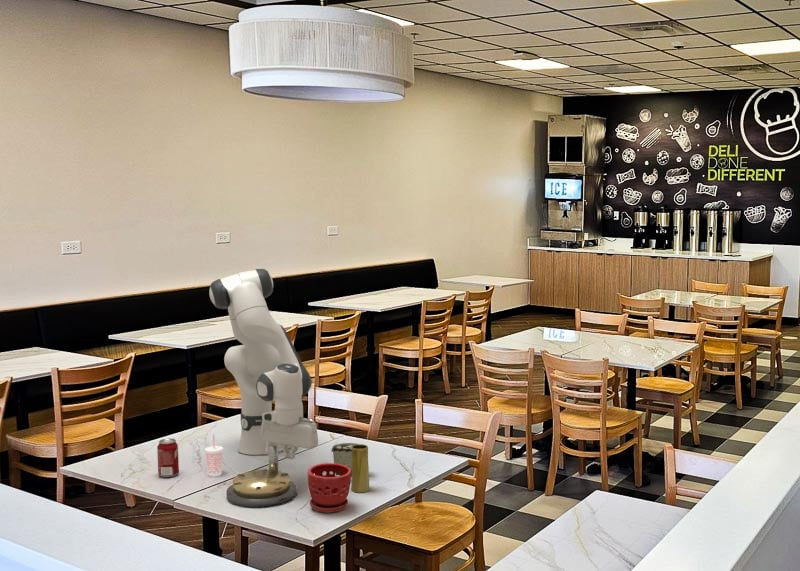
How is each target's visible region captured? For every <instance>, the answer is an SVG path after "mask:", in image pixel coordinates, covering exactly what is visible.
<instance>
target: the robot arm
mask: <svg viewBox="0 0 800 571" xmlns="http://www.w3.org/2000/svg"><path fill="white" fill-rule="evenodd" d="M273 292H274V281H273V277H272V276H271V274H270V272H269V271H268V270H267V269H265V268H255V270H253V269H252V270H246V271H241V272H237V273H236V274H235V273H234V274H232V275H228V276H226V277H223V278H221V279H220V278H217V279H215V280H214V281H212V282H211V283H210V285H209V298H210V301H211V303H212V304H213V305H214V307H215V308H217V309H219V310H227V312H228V315H229V316H228V317H229V320H230V325H231V330H232V333H233V336H234V338H235V339H236V340H237V341H239V343H241V344H240V345H239V344H238V345H235V346H231V347H229V348H228V349H227V351H226V352H225V354H224V358H223V360H224V366H225V368H226V369H227V371H229V372H230V374H232V376H233V377H234V379H235V381H236V383H237V385H238V389H239V393H240V402H241V406H240V407H241V412H240V425H241V434H240V439H239V440H240V441H239V444H238V445H239V446H238V449H237V451H238V452H239V453H240V454H244V455H249V456H252V455H253V456H258V455H261V456H262V455H268V456H269V450H268V446H269V445H271V444H277V445H278V453H281V452H282V451H283V453H284V458H285V459H290V460H294V459H295V458H296V453H297V451H298V448H301V449H302V448H303V449H307V450H312V449H315V448H316V447H318V445H319V437H318V436H319V435H318V430H317V426H318V425H317V423H316V422H315V421H314V419H313V418H306V417H304V405H303V401H302V398H304V397H306V396H307V394H308V393H309V392H310V390H311V388H312V383H313V382H312V376H311V374H310V373H309V371H308V370H307V368H306V366H304V364H303V362H302V360H301V358H300V356H299V355H298V352H297V351H296V348H295V346H294V344H293V343H292V340H291V338H290V337H289V334H288V333H287V331H286V329H285V328H284V326H283V325H281V324H280V323H278V322H277V321H276V320H275V318H274V317H273V316H272V314H271V313H270V311H269V310H270V309H269V307H268V306H267V302H266V300H265V299H267V298H268V297H270V296H271V295H272V293H273ZM272 402H274V403H275V405H274V409H273V408H272V407H273V405H272ZM290 449H291V451H290Z"/></svg>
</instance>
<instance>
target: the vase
mask: <svg viewBox="0 0 800 571" xmlns="http://www.w3.org/2000/svg"><path fill="white" fill-rule="evenodd" d="M356 444H357V445H353V446H352V477H351V484H350V490H351V492H352V493H353V492H354V493H359V494H361V493H362V492H364V493H366V491H367V492H369V491H370V489H371V487H370V473H369V472H370V471H369V468H370V466H369V446H368V445H366V444H361V443H356ZM368 490H369V491H368ZM362 494H363V493H362Z"/></svg>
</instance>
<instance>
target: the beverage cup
mask: <svg viewBox="0 0 800 571" xmlns="http://www.w3.org/2000/svg"><path fill="white" fill-rule="evenodd" d="M215 441H216V440H215V433H213V434H212V443H213V444H212V445H211V446H208V447H206V448H204V453H205V456H206V457H205V458H206V467H207V468H206V469H207V476H209V477H219V476H221V475H222V474H223V473H222V472H223V452H224V447H223V446H220V445H216V444H215Z"/></svg>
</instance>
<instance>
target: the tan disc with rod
mask: <svg viewBox="0 0 800 571" xmlns="http://www.w3.org/2000/svg"><path fill="white" fill-rule="evenodd" d="M268 450H269V455H268V469H266V468H264V469H255V470H249V471H245V472H242V473H239V474H237V475H236V476H234V477H233V479H232V485H233V492H234V493H235V494H236V495H238V496H241V497H246V498H268V497H274V496H278V495H281V494H283V493H285V492H287V491H288V490H289V489H290V481H291V476H290V474H289V473H288V472H285V471H284V470H283V471H282V470H279V452H278V445H277V444H271V445H269V446H268Z"/></svg>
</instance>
